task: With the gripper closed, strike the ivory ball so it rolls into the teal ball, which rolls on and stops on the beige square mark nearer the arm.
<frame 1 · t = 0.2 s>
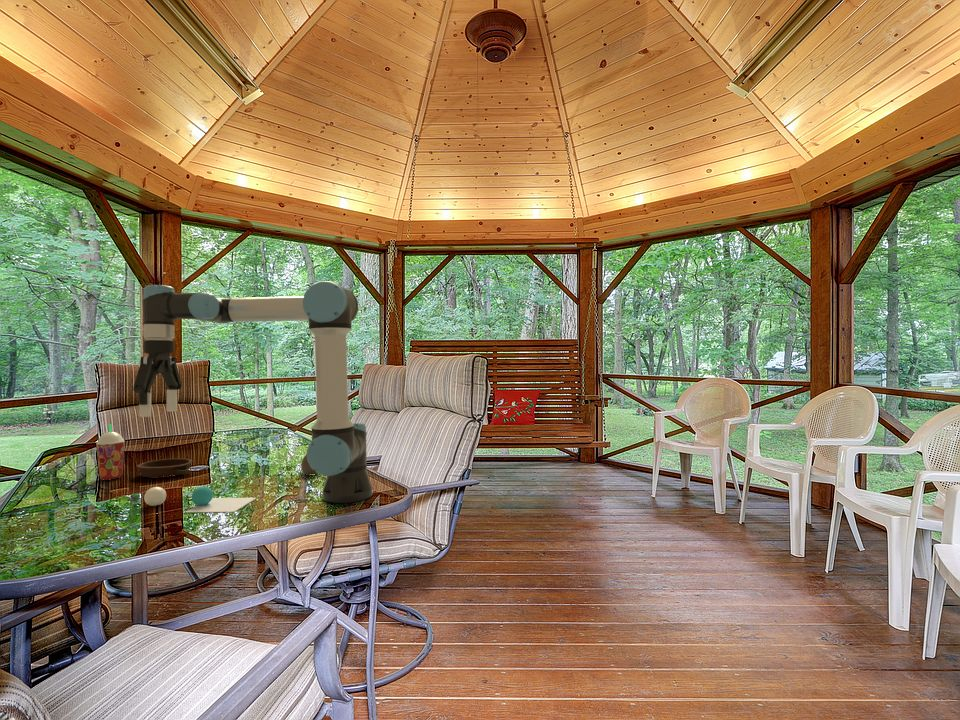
hand: (159, 414, 141), 28 cm above the table, tool pointing down, fingers open, 13 cm apart
cue ball: (155, 496, 146), on the table
object ball: (202, 496, 146), on the table
dish: (165, 476, 186), on the table
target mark: (222, 505, 146), on the table
vase: (310, 475, 184), on the table
smoothie: (111, 479, 180), on the table
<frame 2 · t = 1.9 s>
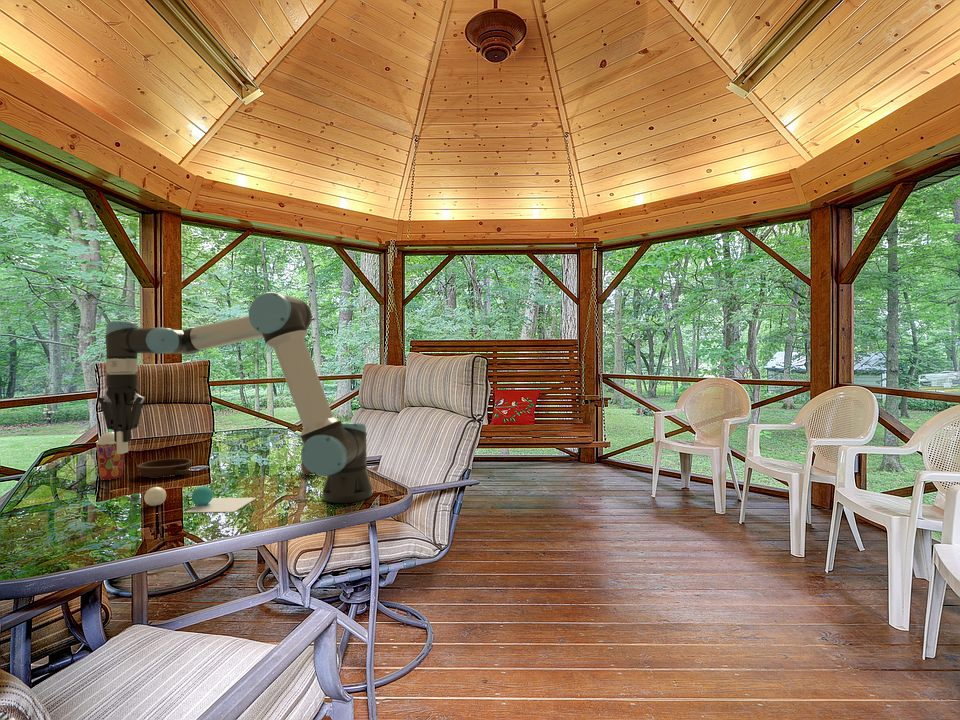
hand: (122, 452, 146), 16 cm above the table, tool pointing down, fingers closed
nothing on the table moved.
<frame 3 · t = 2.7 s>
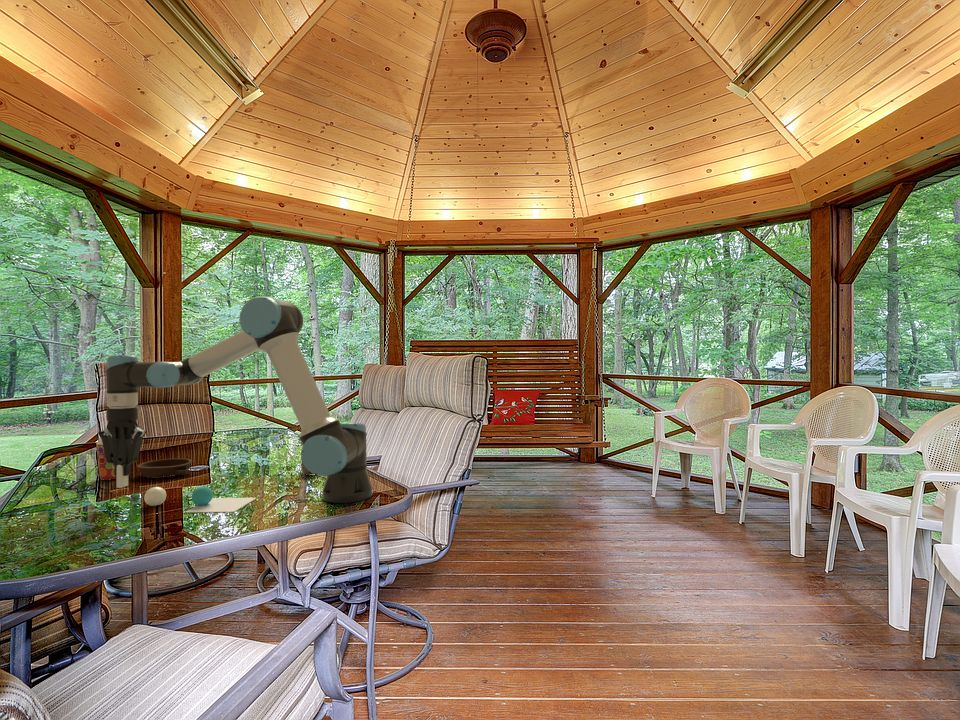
hand: (122, 486, 146), 6 cm above the table, tool pointing down, fingers closed
nothing on the table moved.
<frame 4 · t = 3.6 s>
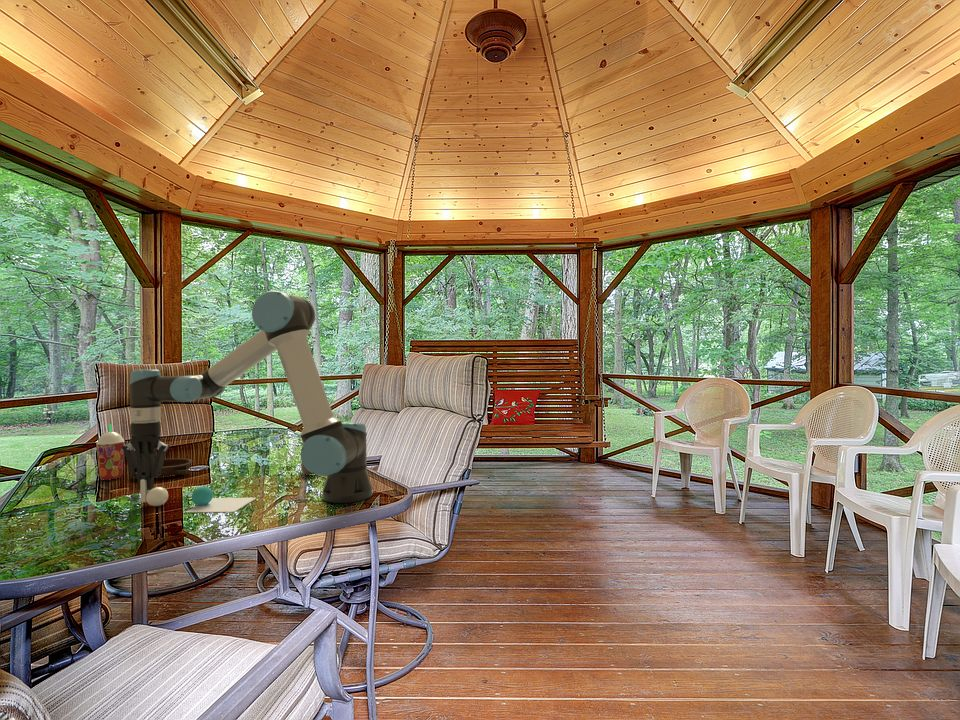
hand: (145, 500, 146), 1 cm above the table, tool pointing down, fingers closed
cue ball: (157, 496, 146), on the table, touching gripper
everything else where it was.
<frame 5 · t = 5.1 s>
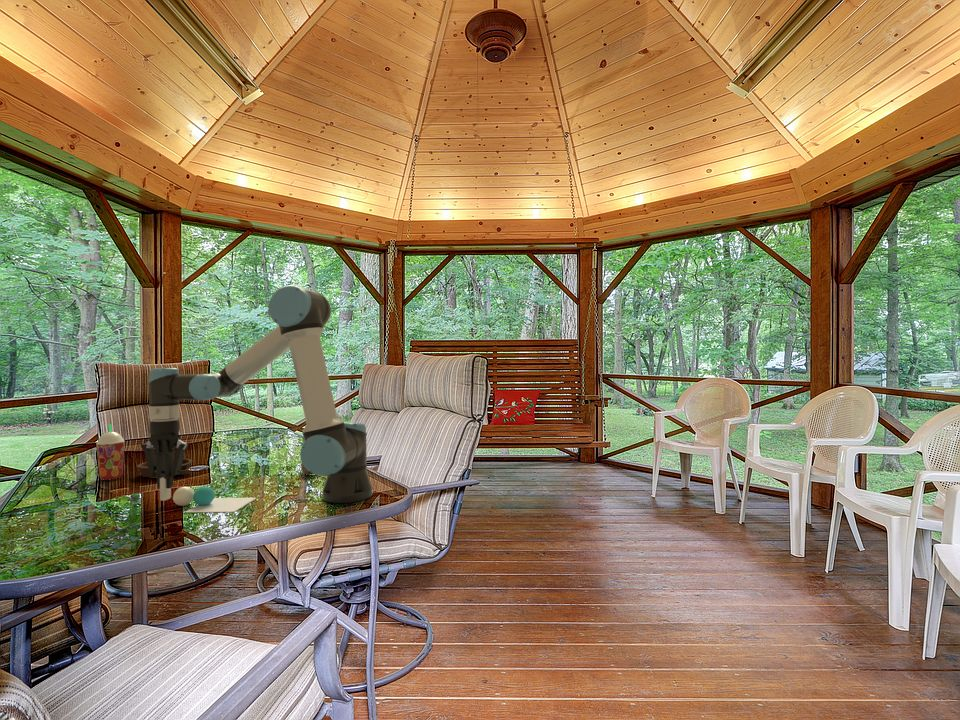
hand: (165, 499, 146), 2 cm above the table, tool pointing down, fingers closed
cue ball: (183, 496, 146), on the table
everything else where it was.
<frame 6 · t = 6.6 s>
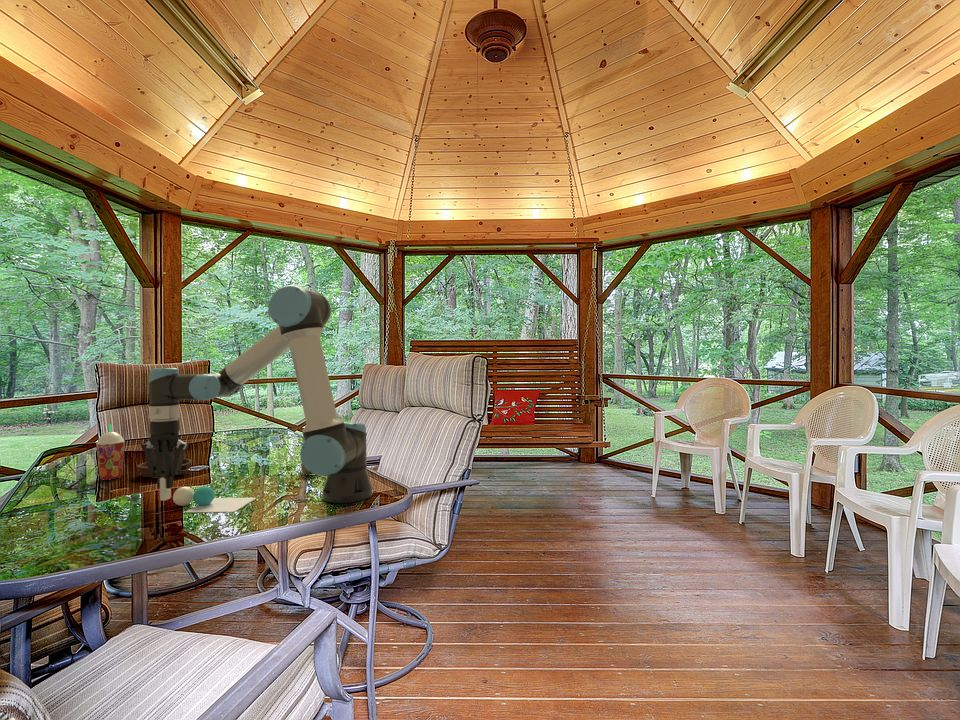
hand: (165, 499, 146), 2 cm above the table, tool pointing down, fingers closed
nothing on the table moved.
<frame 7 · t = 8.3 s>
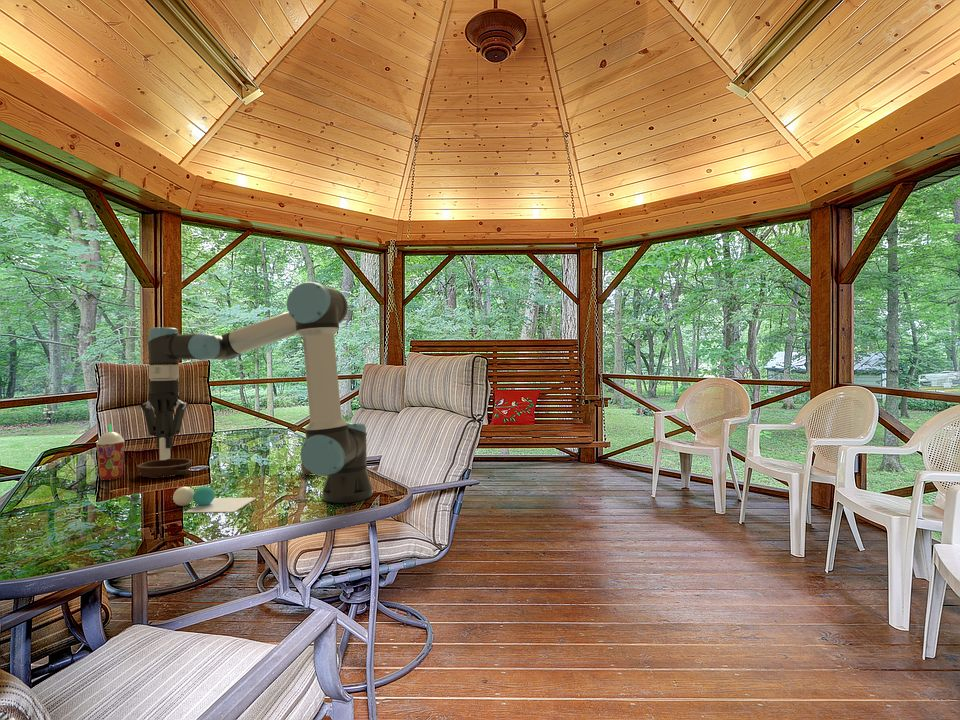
hand: (165, 459, 146), 14 cm above the table, tool pointing down, fingers closed
nothing on the table moved.
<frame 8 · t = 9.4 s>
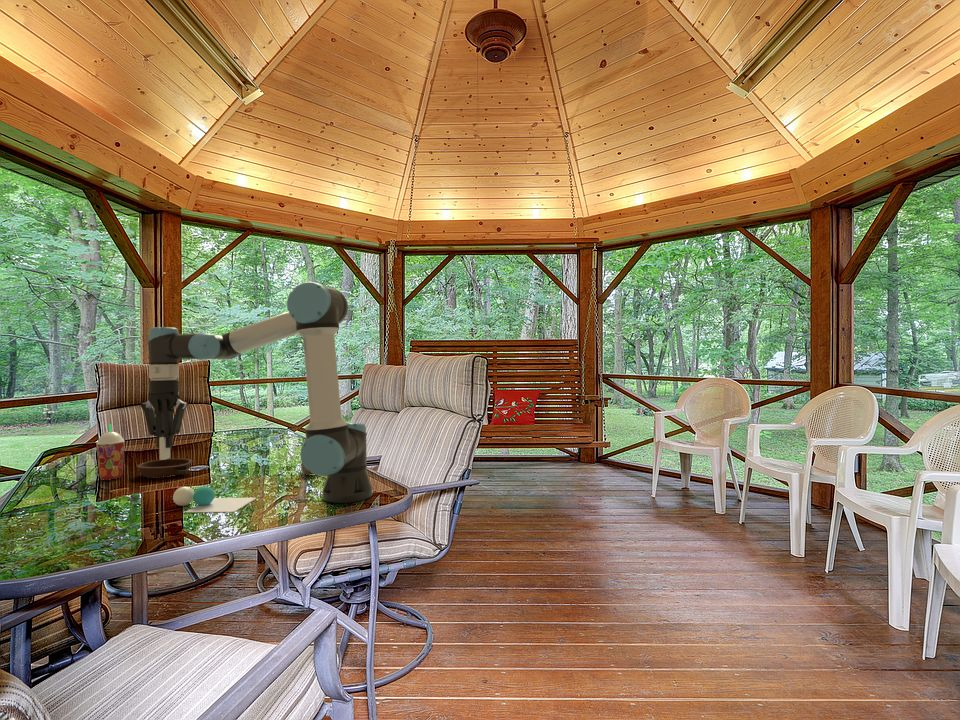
hand: (165, 458, 146), 14 cm above the table, tool pointing down, fingers closed
nothing on the table moved.
at the end: object ball 5.5 cm from the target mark (horizontally); object ball never touched the robot; cue ball first touched object ball at 4.2 s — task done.
